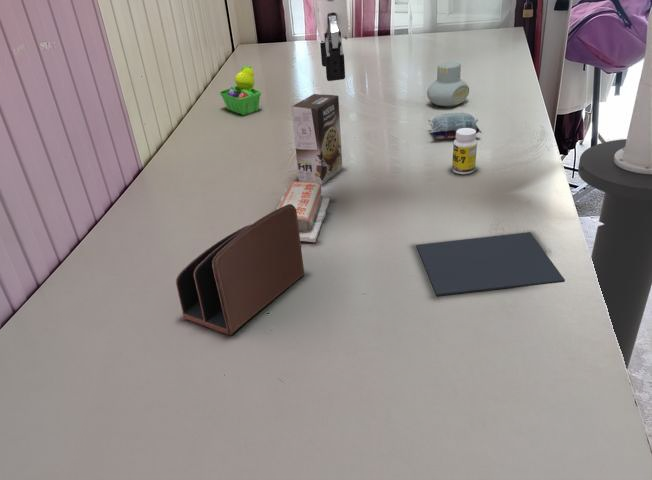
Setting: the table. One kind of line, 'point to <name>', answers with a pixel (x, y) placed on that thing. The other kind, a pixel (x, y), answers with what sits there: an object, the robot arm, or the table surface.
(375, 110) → the table surface
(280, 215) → the letter holder
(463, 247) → the mat
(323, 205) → the packaged product
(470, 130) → the supplement bottle
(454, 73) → the air freshener
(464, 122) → the packaged food
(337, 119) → the coffee box
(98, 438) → the table surface
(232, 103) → the fruit basket
